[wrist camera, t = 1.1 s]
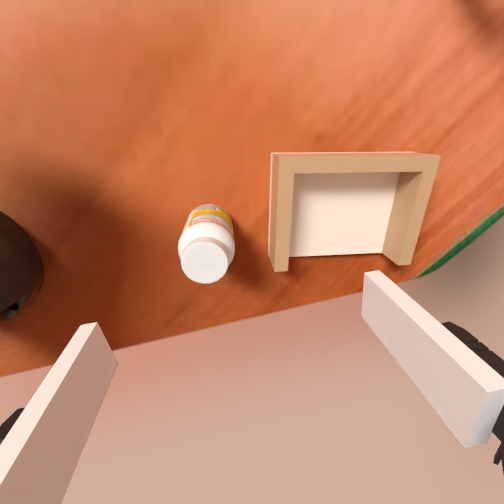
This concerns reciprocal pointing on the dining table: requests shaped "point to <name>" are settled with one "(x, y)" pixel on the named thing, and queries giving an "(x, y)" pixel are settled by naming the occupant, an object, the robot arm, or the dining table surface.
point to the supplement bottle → (207, 244)
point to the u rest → (348, 204)
